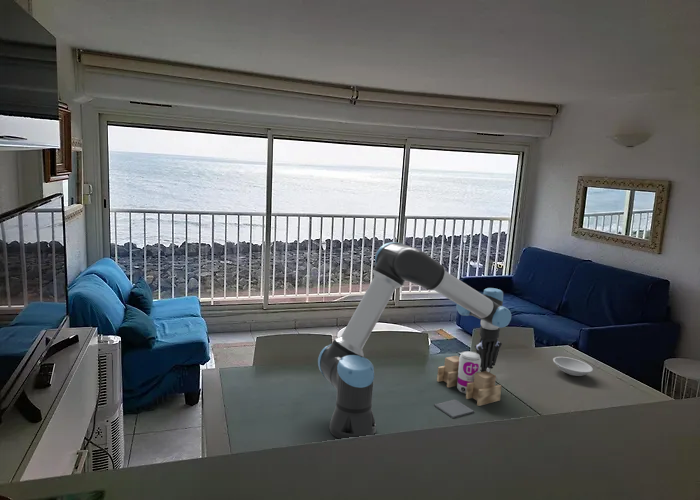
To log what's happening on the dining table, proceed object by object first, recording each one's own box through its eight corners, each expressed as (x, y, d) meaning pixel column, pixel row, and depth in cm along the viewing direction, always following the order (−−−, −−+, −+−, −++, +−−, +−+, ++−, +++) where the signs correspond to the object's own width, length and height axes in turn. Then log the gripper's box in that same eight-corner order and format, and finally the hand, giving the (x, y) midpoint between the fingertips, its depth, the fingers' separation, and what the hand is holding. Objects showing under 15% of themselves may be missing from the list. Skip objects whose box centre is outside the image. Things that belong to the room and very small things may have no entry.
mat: (452, 418, 171) (452, 416, 171) (434, 405, 180) (434, 404, 179) (473, 412, 176) (473, 410, 176) (454, 400, 185) (455, 399, 184)
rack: (478, 405, 181) (481, 380, 180) (436, 380, 202) (438, 357, 200) (500, 400, 187) (502, 375, 185) (457, 376, 207) (459, 354, 206)
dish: (599, 381, 210) (601, 370, 209) (573, 384, 205) (575, 373, 204) (568, 365, 226) (570, 355, 226) (543, 368, 222) (545, 358, 221)
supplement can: (478, 396, 190) (482, 359, 187) (456, 393, 191) (460, 356, 189) (477, 387, 197) (480, 352, 195) (456, 384, 199) (459, 349, 197)
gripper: (485, 331, 189) (479, 389, 192) (508, 327, 195) (502, 383, 199) (471, 326, 195) (466, 381, 199) (494, 322, 202) (489, 376, 205)
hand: (484, 382), depth 199 cm, fingers closed
